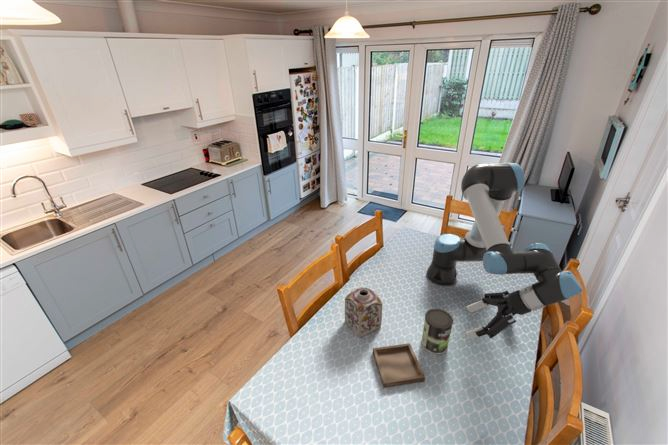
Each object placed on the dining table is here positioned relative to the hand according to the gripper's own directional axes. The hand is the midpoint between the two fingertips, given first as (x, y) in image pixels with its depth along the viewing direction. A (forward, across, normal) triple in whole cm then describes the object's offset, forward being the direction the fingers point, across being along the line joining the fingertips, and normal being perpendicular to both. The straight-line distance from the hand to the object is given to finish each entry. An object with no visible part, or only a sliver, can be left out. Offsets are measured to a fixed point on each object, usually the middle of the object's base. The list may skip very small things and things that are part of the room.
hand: (468, 321), depth 114 cm
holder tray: (+27, +15, -4) cm, 31 cm away
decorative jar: (+40, 0, -17) cm, 43 cm away
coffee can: (+18, 0, +4) cm, 19 cm away
